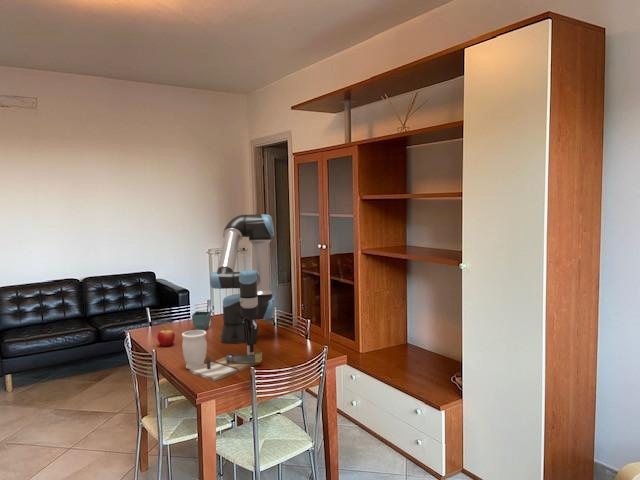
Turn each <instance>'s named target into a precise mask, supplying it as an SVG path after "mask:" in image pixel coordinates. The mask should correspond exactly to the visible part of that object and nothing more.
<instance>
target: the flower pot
mask: <svg viewBox="0 0 640 480" xmlns="http://www.w3.org/2000/svg"><path fill="white" fill-rule="evenodd" d="M211 313H212V312H211V311H195V312H194V313H193V314H192V315H191V319H192V324H193V326H194V329H195V330H204V331H205V330H207V328H208V327H209V326H210V324H211V323H210V322H211V315H212V314H211Z"/></svg>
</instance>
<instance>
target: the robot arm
mask: <svg viewBox="0 0 640 480" xmlns="http://www.w3.org/2000/svg"><path fill="white" fill-rule="evenodd" d="M274 227H275V226H274V222H273V218H272V215H270V214H262V213H261V214H256V213H255V214H239V215H236V216H235V217H233V218H232V219H231V220H230V221H228V222H227V224H226V225H225V228H224V229H223V231H222V232H223V233H222V237H223V243H222V246H221V252H220V256H219V259H218V260H219V261H218V265H217V270H216V271H213V272H211V274H210V277H209V284H210V287H211V288H212V289H218V290H219V289H220V290H222V289H223V290H224V289H226V290H227V289H239V293H236V294H235V293H234V294H231V295H228V296H225V297H223V299H222V313H223V314H222V316H223V326H222V329H221V330H222V331H221V334H220V342H222V343H224V344H242V343H245V344H246V348H247V349H246V352H247V354H246V355H255V345H257V342H258V329H259V326H260V325H259V323H257V322H256V321H257V320H263V321H264V320H271V319H272V318H273V317H274V315H275V314H274V312H275V308H276V307H275V306H276V297H275V295H273V292H272V290H270V259H269V258H270V257H269V256H270V252H269V251H270V248H269V247H270V246H269V244H270V243H271V242H272V238H273V237H275V228H274ZM243 238H248V242H249V243H250V244H251V269H250V270H249V269H248V270H241V271H235V267H236V261H237V256H238V250H239V246H240V245H239V244H240V242H241V240H242V239H243Z"/></svg>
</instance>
